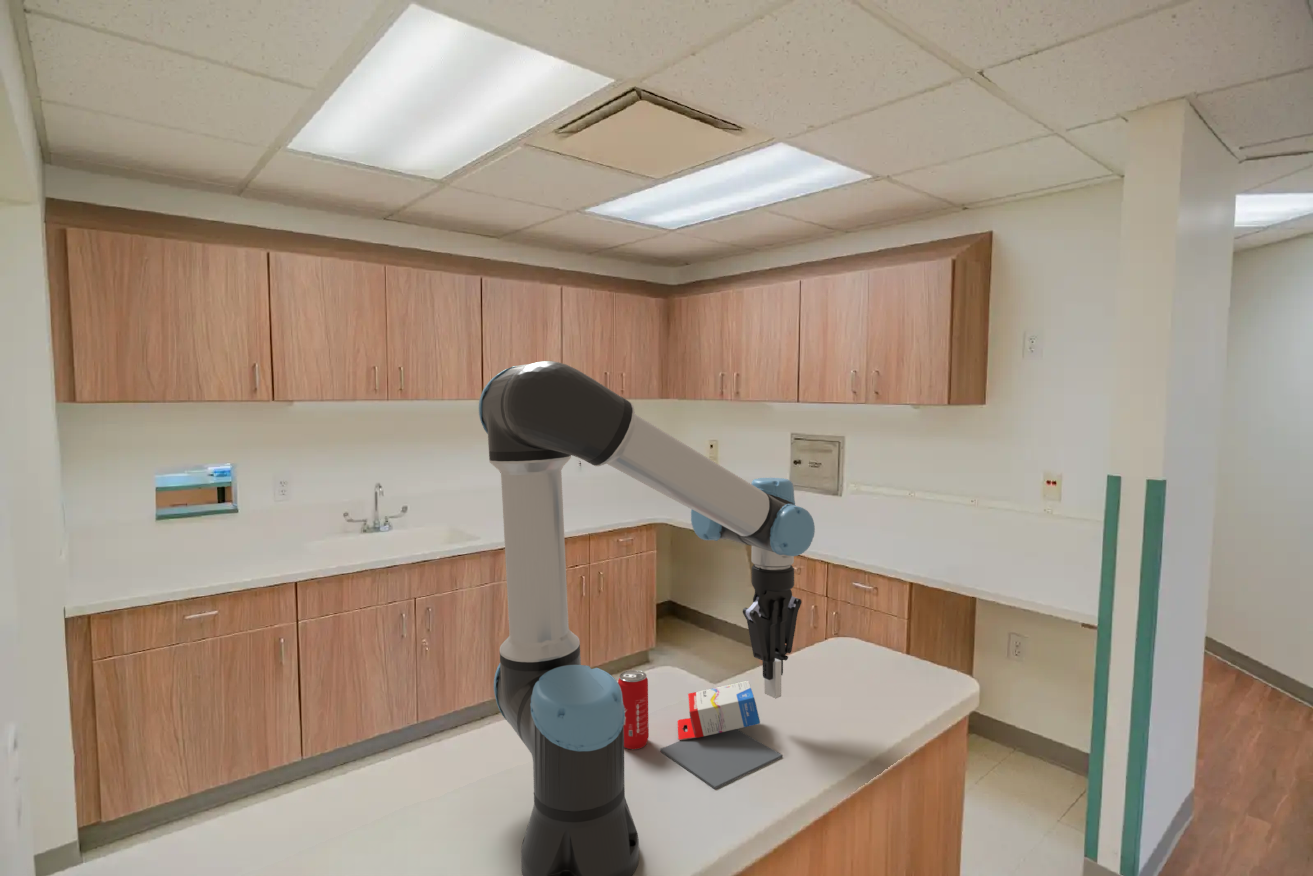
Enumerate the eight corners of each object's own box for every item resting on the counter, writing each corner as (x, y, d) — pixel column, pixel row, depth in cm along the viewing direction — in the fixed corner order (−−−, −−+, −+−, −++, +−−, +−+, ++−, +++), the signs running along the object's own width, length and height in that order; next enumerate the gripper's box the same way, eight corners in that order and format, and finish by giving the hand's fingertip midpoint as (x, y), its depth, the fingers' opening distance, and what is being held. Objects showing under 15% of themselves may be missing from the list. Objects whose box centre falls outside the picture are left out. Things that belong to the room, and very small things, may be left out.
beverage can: (645, 752, 110) (644, 682, 109) (615, 749, 111) (614, 680, 111) (651, 737, 115) (650, 670, 115) (623, 734, 116) (622, 668, 116)
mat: (714, 789, 99) (714, 786, 99) (660, 751, 110) (660, 749, 110) (782, 757, 108) (782, 754, 108) (725, 725, 119) (725, 722, 119)
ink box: (754, 696, 112) (672, 715, 112) (761, 724, 112) (678, 743, 112) (748, 679, 121) (671, 696, 121) (754, 705, 121) (677, 722, 121)
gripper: (762, 574, 108) (762, 713, 109) (813, 563, 116) (813, 692, 117) (731, 566, 114) (731, 697, 115) (782, 556, 122) (782, 679, 123)
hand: (772, 694), depth 116 cm, fingers closed
